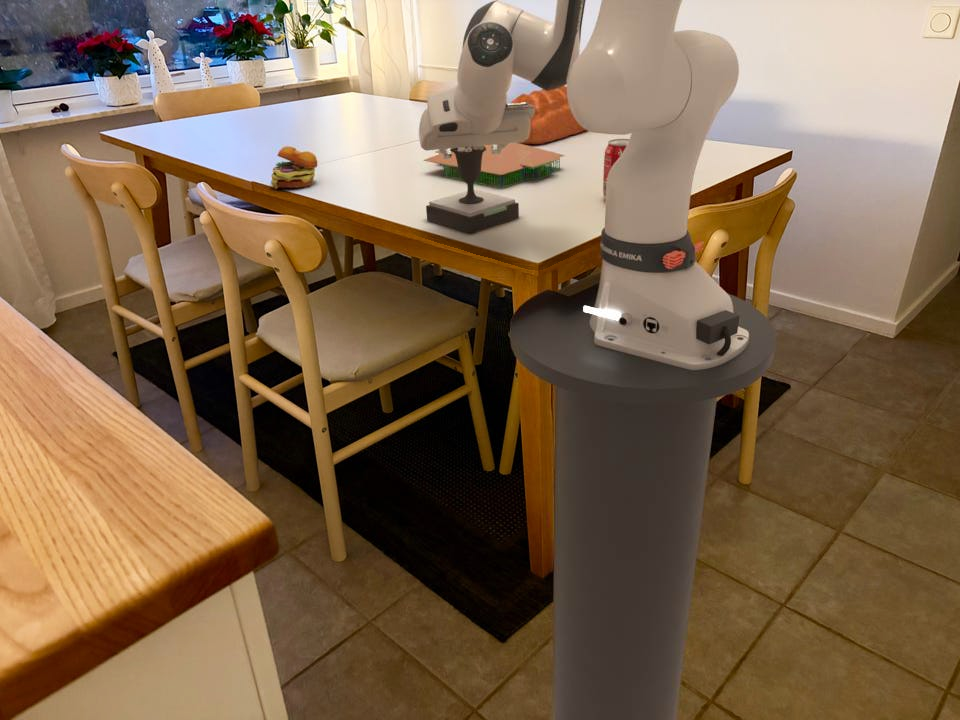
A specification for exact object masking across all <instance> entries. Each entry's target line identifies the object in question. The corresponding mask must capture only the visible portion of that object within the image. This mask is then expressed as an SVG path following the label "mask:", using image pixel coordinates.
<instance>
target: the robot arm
mask: <svg viewBox="0 0 960 720" xmlns="http://www.w3.org/2000/svg"><path fill="white" fill-rule="evenodd" d="M682 3H683V0H601V3H600V6H599V12H598V15H597V19H596V22H595V25H594V28H593V31H592V33H591V36H590V38H589V40H588V42H587V43H586V46H585V47H584V49H583V50H582V51H581V50H580V47H581V46H580V45H581V39H582V38H581V36H582V25H583V20H584V19H583V18H584V12H585V6H586V0H556V8H555V15H554V22H551V21H549V20H546V19H544V18H541V17H540V16H538V15H534V14H532V13H530V12H527V11H525V10H524V9H522V8H519V7H517V6H514V5H511V4H509V3H508V2H505V1H501V0H492V1H490V2H488V3H486V4H484V5H482V6H480V7H479V8H478V9H477V10H476V11H475V12H474V14H473V15H472V17H471V18H470V20H469V21H468V24H467V27H466V30H465V32H464V36H463V40H462V46H461V47H462V48H461V53H460V57H459V61H458V67H457V74H456V79H457V84H456V85H454V86H452V87H450V88H448V89H447V88H446V89H445V90H442V91H439V92H436V93H432V94H429V95H428V97H427V99H426V105H427V106H426V107H427V108H425V110H424V111H423V112H422V114H421V117H420V121H419V125H418V138H419V144H420V147H421V149H422V150H424V151H438V150H439V151H440V152H441V153H442V154H443V159H450V158H451V156H452V152H451V148H461V147H473V146H484V145H492V146H491V151H492V155H495V154H500V152H501V150H502V149H503V148H504V147H506V146H507V145H508V143H518V142H524V141H526V140H527V139H528V138H529V134H530V119H532V118H533V116H534V113H535V107H534V106H533V105H530V104H528V103H527V102H523V103H511V102H510V103H507V102H508V92H509V89H510V87H511V83H512V79H513V75H514V76H516V77H519V78H521V79H523V80H526V81H529V82H530V83H531V84H533V85H534V86H536V87H538V88H540V89H541V90H542V89H544V90H546V91H550V90H554V89H557V88H560V87H562V86H566V87H567V99H568V104H569V107H570V110H571V112H572V114H573V116H574V118H575V119H576V121H577V122H578V123H579V124H580V125H581V126H582V127H583V128H584V129H586V130H585V131H588V132H590V133H594V134H602V135H614V136H615V135H617V136H624V135H630V137H629V138H628V139H629V142H628V144H627V146H626V148H625V150H624V152H623V153H622V155H621V156H620V157H619V159H618V160H617V161H616V162H615V163H614V165H613V166H612V168H611V169H610V171H609V173H608V177H607V183H606V199H605V207H604V209H605V210H604V212H605V213H604V227H603V228H602V230H601V234H600V247H599V248H600V249H599V255H600V257H601V271H600V279H599V283H600V284H599V289H598V294H597V299H596V303H595V306H594V308H592V307H588V306H584V312H587V313H591V314H592V315H591V318H590V321H589V324H590V327H591V329H592V330H593V332H594V333H595V335H594V343H595V344H596V345H598V346H601V347H605V348H609V349H613V350H617V351H620V352H624V353H628V354H632V355H636V356H639V357H643V358H647V359H651V360H655V361H658V362H662V363H666V364H670V365H674V366H677V367H681V368H685V369H689V370H702V369H708V368H712V367H715V366H718V365H721V364H723V363H725V362H727V361H729V360H731V359H733V358H734V357H736V356H737V355H739V354H740V353H741V352H742V351H743V350H744V349H745V348H746V347H747V345H748V343H749V332H748V331H747V330H745V329H743V328H741V327H738V324H739V317H740V316H739V315H737V314H734V312H733V304H732V300H731V298H730V296H729V295H728V294H729V293H728V292H726V290H724V289H723V288H722V287H721V286H720V285H719V284H718V283H717V282H716V280H714V279H713V278H712V276H710V274H709V273H708V272H707V271H705V269H704V268H703V267H702V265H700V264H699V263H698V262H697V255H696V253H698V252H700V251H702V250H704V247H702V246H703V245H704V243H705V242H704V241H700V242H697V243H695V244H694V243H693V240H692V238H691V235H690V234H691V233H690V232H689V230H688V224H689V223H688V222H689V214H690V204H691V197H692V196H691V195H692V190H693V189H692V188H693V183H694V182H693V181H694V176H695V172H696V168H697V165H698V161H699V159H700V156H701V152H702V151H703V147H704V145H705V142H706V140H707V137H708V134H709V132H710V129H711V127H712V125H713V123H714V120H715V119H716V117H717V115H718V113H719V111H720V110H721V109H722V107H723V106H724V105H725V104H726V102H727V101H728V100H729V99H730V98H731V96H732V95H733V93H734V91H735V89H736V87H737V84H738V80H739V75H740V65H739V58H738V55H737V53H736V51H735V49H734V47H733V45H732V44H731V43H730V42H729V41H728V40H727V39H726V38H724V37H722V36H720V35H718V34H715V33H710V32H707V31H701V30H696V29H686V30H685V29H684V30H678V31H677V30H676V29H675V28H676V24H677V20H678V15H679V11H680V7H681V5H682ZM580 51H581V53H580ZM441 153H440V154H441ZM727 293H728V294H727Z"/></svg>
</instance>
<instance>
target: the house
mask: <svg viewBox="0 0 960 720" xmlns="http://www.w3.org/2000/svg"><path fill="white" fill-rule="evenodd" d="M484 146H485V147H486V150H485V151H484V152H483V155H482V162H481V173H480V177H479V178H478V180H476V181H475V183H474V184H480V185H485V186H490V187H496V188H500V189H502V188H507V187H509V186H512V185H514V184H518V183H521V182H524V181H527V180H530V179H531V180H539V179H541V178H545V177H548V176H552V172H556V171H559V170H560V169H561V168H560V167H561V158H562V157H565V154H562V153H557V152H555V151H550V150H547V149H542V148H539V147H535V146H531V145H528V144H520V143H508V145H507V146H506V147H504V148H503V149H502V150H501V152H500V154H495V155H492V151H491V146H492V145H484ZM451 149H452V148H451ZM434 153H437V154H436V155H434V156H430V157H428V158H425V159H423V162H429V163H434V164H439V165H440V166H443V176H444V177H445V178H450V179H453V175H455V177H454V179H456V180H458V179H459V180H461V181H463V180H462V179H461V178H460V175H459V171H458V170H457V171H456V174H455V169H458V165H457V160H456V156H455V153H453V152H452V156H451V158H450V159H443V154H442V153H441V152H440V151H439V150H434ZM542 167H543V172H542ZM448 170H450V173H449V174H448ZM452 172H453V173H452ZM483 173H484V175H483ZM511 173H512V174H511ZM534 173H535V175H534ZM488 174H490V176H488ZM528 174H529V177H528ZM537 174H538V175H537ZM540 174H542V175H543V176H540ZM457 175H458V177H457ZM518 176H520V177H519V181H517V180H518ZM525 176H526V177H525ZM534 176H535V178H534ZM537 176H538V177H537ZM496 177H500V178H496ZM510 179H512V183H510ZM514 179H515V180H514ZM485 180H488V183H485ZM490 180H493V184H494V185H493V184H491V181H490ZM480 181H483V182H480ZM496 181H500V186H499V183H496ZM503 181H505V185H503ZM507 183H508V184H507Z"/></svg>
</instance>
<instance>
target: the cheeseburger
mask: <svg viewBox="0 0 960 720" xmlns="http://www.w3.org/2000/svg"><path fill="white" fill-rule="evenodd" d="M277 157H279V158H281V159H284V160H287V161H281V162H277V163H276V164H275V166H274V167H273V168H272V173H271V180H270V183H271V186H273V188H274V189H275V190H277V189H278V188H280V189H281V188H284V189H285V188H289V189H290V188H295V189H297V188H298V189H301V188H306V187H308V186H311V184H312V183H313V181H314V179H315V175H316V174H315V169H316V168H318V159H317V156H316V155H315V154H314V153H313V152H311V151H300V150H297V149H296V147H293V146H290V145H286V146H283V147H282V148H281V149H280V150H279V151H278V153H277Z"/></svg>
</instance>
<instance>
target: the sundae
mask: <svg viewBox="0 0 960 720" xmlns="http://www.w3.org/2000/svg"><path fill="white" fill-rule="evenodd" d="M485 150H486V147H485V146H473V147H461V148H452V149H451V152H453V153H455V156H456V160H457V165H458V168H457V172H458V171H459V179H462V180H461V181H463V182H465V183H466V184H467V186H466V187H467V190H466V191H467V195H466V196H465V197H463V198H460V199H459V202H460V203H463V204H476V203H480V202H482V201H483V200H484V199H483V198H482V197H478V196H476V195H475V193H474V189H475V187H474V184H476V183H475V182H476V181H478V178H479V179H480V178H481V175H480V173H481V162H482V155H483V152H484V151H485Z"/></svg>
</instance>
